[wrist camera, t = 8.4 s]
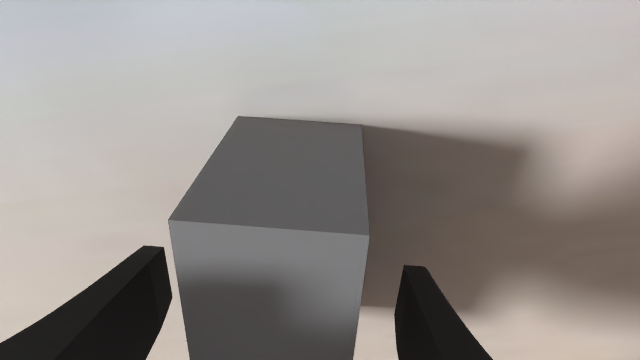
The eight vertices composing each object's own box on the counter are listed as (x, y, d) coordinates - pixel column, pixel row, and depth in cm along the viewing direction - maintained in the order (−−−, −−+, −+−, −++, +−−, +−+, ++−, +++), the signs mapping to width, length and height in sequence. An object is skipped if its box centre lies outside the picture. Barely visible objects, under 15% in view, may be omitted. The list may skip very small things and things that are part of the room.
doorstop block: (361, 124, 13) (369, 235, 8) (342, 303, 17) (339, 457, 12) (238, 115, 13) (168, 220, 8) (247, 295, 17) (203, 445, 12)
